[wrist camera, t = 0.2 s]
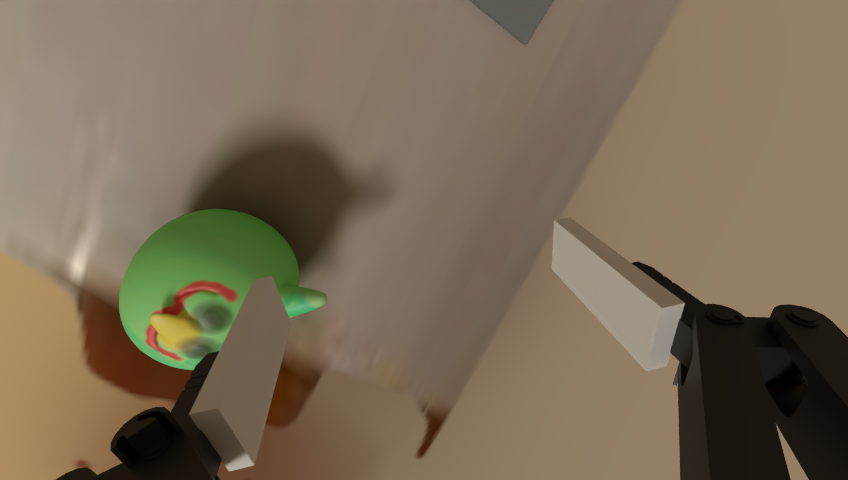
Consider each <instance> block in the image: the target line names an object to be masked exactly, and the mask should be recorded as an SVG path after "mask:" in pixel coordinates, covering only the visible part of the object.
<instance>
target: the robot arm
mask: <svg viewBox="0 0 848 480" xmlns="http://www.w3.org/2000/svg"><path fill="white" fill-rule="evenodd" d="M552 270H553V271H554V272H555V273H556V274H557V275H558V276H559V277H560V278H561V279H562V281H563V282H564V283H565V284H566V285H567V286H568V287H569V288H570V289H571V290H572V291H573V292H574V294H575V295H576V296H577V297H578V298H579V299H580V300H581V301H582V302H583V303H584V304H585V305H586V307H588V309H589V310H590V311H591V312H592V313H593V314H594V315H595V316H596V317H597V318H598V319H599V321H600V322H601V323H602V324H603V325H604V326H605V327H606V328H607V329H608V330H609V331H610V332H611V334H612V335H613V336H614V337H615V338H616V339H617V340H618V341H619V342H620V343H621V344H622V345H623V347H624V348H625V349H626V350H627V351H628V352H629V353H630V354H631V355H632V356H633V357H634V358H635V359H636V360H637V362H638V363H639V364H640V365H641V366H642V367H643V368H644V369H645V370H646V371H649V370H653V369H657V368H661V367H665V366H667V364H668V361H669V357H670V354H672V355H673V356H675V357H676V358H677V359H678V360H679V361H680V362H679V366H678V369H677V372H676V375H675V378H674V382H673V385H677V383H678V405H679V444H680V479H681V480H790V476H789V472H788V468H787V465H786V461H785V457H784V453H783V450H782V446H781V442H780V438H779V435H778V431H777V427H776V424H777V426H778V428H779V429H780V431H781V433H782V434H783V436H784V438H785V440H786V441H787V443H788V445H789V446H790V448H791V450H792V452H793V453H794V455H795V457H796V458H797V460H798V462H799V463H800V465H801V467H802V469H803V470H804V472H805V474H806V475H807V477H808V479H809V480H848V337H847V336H846V335H845V334H844V333H843V332H842V331H841V330H840V329H839V328H838V327H837V326H836V325H835V324H834V323H833V322H832V321H831V320H830V319H828V318H827V317H826V316H824V315H823V314H820V313H818V312H816V311H814V310H812V309H809V308H805V307H802V306H796V305H779V306H777V307H775V308H774V309H773V311H772V314H771V316H770V318H765V317H763V318H762V317H744V316H743V315H742V314H740V313H739V312H737V311H735V310H733V309H731V308H729V307H725V306H722V305H716V304H704V303H702V302H701V301H699V300H698V299H696V298H695V297H694V296H692V295H691V294H689V293H688V292H686V291H685V290H684V289H682V288H681V287H679V286H678V285H676V284H675V283H672V281H671V280H669V279H668V278H666V277H663V275H662V274H661V273H660V272H658V271H657V270H655V269H654V268H652V267H650V266H648V265H645V264H643V263H640V262H633V263H631V262H629V261H628V260H626V259H625V258H624V257H622V256H621V255H620V254H618V253H617V252H616V251H614V250H613V249H612V248H610V247H609V246H608V245H606V244H605V243H603V242H602V241H601V240H600V239H598V238H597V237H595V236H594V235H593V234H591V233H590V232H589V231H587V230H586V229H584V228H583V227H582V226H581V225H579V224H578V223H577V222H575V221H574V220H572V219H571V218H570V217H569V218H564V219H559V220H554V236H553V256H552ZM290 327H291V321H290V319H289V316H288V314H287V311H286V309H285V306H284V304H283V301H282V299H281V297H280V294H279V292H278V289H277V287H276V284H275V282H274V279H273V277H272V276H268V277H263V278H258V279H254V281H253V283H252V285H251V287H250V289H249V291H248V293H247V295H246V297H245V299H244V301H243V304H242V306H241V308H240V310H239V312H238V314H237V316H236V318H235V320H234V322H233V324H232V326H231V328H230V330H229V332H228V335H227V337H226V339H225V341H224V343H223V345H222V347H221V349H220V351H217V352H212V353H208V354H207V355H206V356H205V357H204V358H203V359H202V360H201V361H200V362H199V363H198V364H197V365H196V366H195V368H194V370H193V372H192V374H191V376H190V377H189V381H187V383H186V385H185V387H184V391H182V392H181V394H180V396H179V398H178V400H177V402H176V403H175V405H174V407H173V409H172V411H171V413H170V412H169V410H167V409H166V408H164V407H155V408H152V409H148V410H145V411H143V412H141V413H140V414H138V415H136V416H134V417H133V418H132V419H130V420H129V421H128V422H127V423H125V424H124V425H123V426H122V427H121V428H120V430H119V431H118V432H117V433H116V434H115V436H114V438H113V440H112V442H111V451H112V452H113V453H114V454H115V455H116V456H117V457H118V458H119V460H121V462H122V464H119V465H117V466H116V467H113V468H111V469H109V470H107V471H105V472H103V473H101V474H99V475H96V474H95V473H94V472H93V471H92V470H90V469H88V468H78V469H75V470H73V471H71V472H68V473H66V474H64V475H62V476H61V477H59V478H58V479H56V480H220V478H219V477H218V476H217V472H218V469H219V466H220V463H221V461H222V462H223V463H224V465H225V466H226V468H227V469H228V470H229V471H232V470H236V469H241V468H244V467H249V466H253V465H255V461H256V457H257V453H258V449H259V445H260V442H261V438H262V434H263V430H264V426H265V423H266V419H267V415H268V411H269V407H270V403H271V400H272V396H273V392H274V388H275V384H276V381H277V377H278V373H279V369H280V365H281V361H282V358H283V354H284V350H285V346H286V342H287V338H288V335H289V331H290Z"/></svg>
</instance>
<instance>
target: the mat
mask: <svg viewBox="0 0 848 480" xmlns="http://www.w3.org/2000/svg"><path fill="white" fill-rule="evenodd" d="M470 1H471V2H472V3H473V4H474V5H476V6H477V7H478V8H479V9H481V10H482V11H483V12H484V13H486V14H487V15H488V16H489V17H491V18H492V19H493V20H494V21H495V22H497V23H498V24H499V25H500V26H502V27H503V28H504V29H505V30H507V31H508V32H509V33H510V34H511V35H513V36H514V37H515V38H516V39H518V40H519V41H520V42H521V43H523V44H527V43H528V41H529V40H530V38H531V36H532V35H533V33H534V32H535V30H536V28H537V27H538V25H539V23H540V22H541V20H542V18H543V17H544V15H545V14H546V12H547V10H548V9H549V7H550V5H551V4H552V2H553V0H470Z"/></svg>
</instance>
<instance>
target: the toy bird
mask: <svg viewBox="0 0 848 480" xmlns="http://www.w3.org/2000/svg"><path fill="white" fill-rule="evenodd" d="M268 276H272V277H273V279H274V282H275V284H276V287H277V289H278V292H279V294H280V297H281V299H282V301H283V304H284V306H285V309H286V311H287V314H288V316H289V318H291V317H294V316H297V315H300V314H303V313H306V312H309V311H312V310H314V309H317V308H319V307H321V306H322V305H323V304H325V302H326V301H327V296H326V294H324V293H322V292H320V291H317V290H313V289H308V288H303V287H299V268H298V263H297V260H296V257H295V255H294V252H293V250H292V249H291V247H290V245H289V244H288V242H287V241H286V240H285V239H284V237H283V236H282V235H281V234H280V233H279V232H278V231H277V230H275V229H274V228H273V227H272V226H270V225H269V224H267V223H266V222H264V221H262V220H260V219H259V218H256V217H254V216H252V215H249V214H246V213H243V212H239V211H234V210H226V209H207V210H200V211H195V212H191V213H188V214H185V215H183V216H180V217H178V218H176V219H174V220H172V221H170V222H169V223H167V224H165V225H164V226H162V227H161V228H160V229H158V230H157V231H156V232H155V233H154V234H152V235H151V236H150V237H149V238H148V239H147V240H146V241H145V243H144V244H143V245H142V246H141V247H140V249H139V250H138V251H137V253H136V254H135V256H134V257H133V259H132V260H131V262H130V264H129V266H128V268H127V270H126V272H125V275H124V278H123V281H122V284H121V289H120V296H119V310H120V317H121V321H122V324H123V326H124V329H125V331H126V333H127V334H128V336H129V338H130V339H131V340H132V342H133V343H134V344H135V345H136V346H137V347H138V348H139V349H140V350H142V351H143V352H144V353H145V354H147V355H148V356H150V357H151V358H153V359H155V360H157V361H159V362H161V363H163V364H166V365H169V366H172V367H176V368H181V369H188V370H194V368H195V366H196V365H197V364H198V363H199V362H200V361H201V360H202V359H203V358H204V357H205V356H206V355H207V354H208V353H212V352H217V351H220V349H221V347H222V345H223V343H224V341H225V339H226V337H227V335H228V332H229V330H230V328H231V326H232V324H233V322H234V320H235V318H236V316H237V314H238V312H239V310H240V308H241V306H242V304H243V301H244V299H245V297H246V295H247V293H248V291H249V289H250V287H251V285H252V283H253V281H254V279H258V278H263V277H268Z"/></svg>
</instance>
